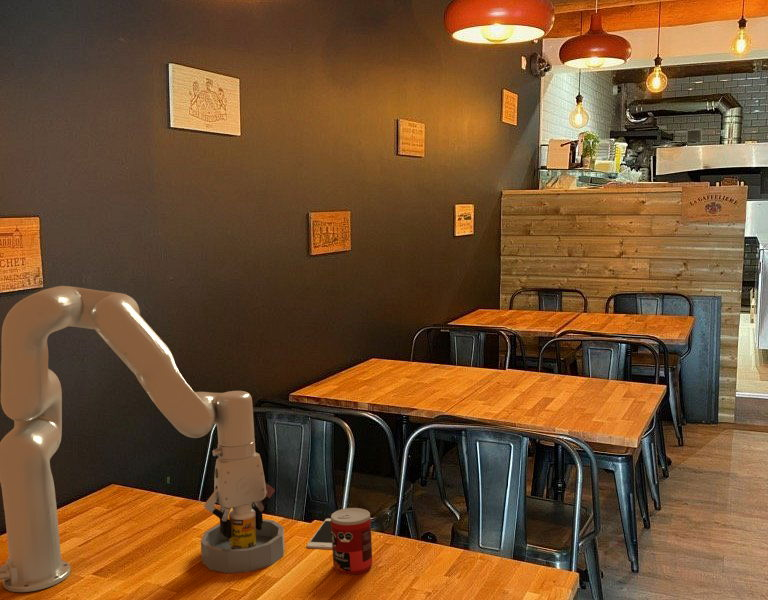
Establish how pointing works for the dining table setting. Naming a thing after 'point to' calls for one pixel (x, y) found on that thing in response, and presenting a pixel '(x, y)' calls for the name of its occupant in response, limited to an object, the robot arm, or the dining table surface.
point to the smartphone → (322, 537)
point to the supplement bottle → (242, 527)
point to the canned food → (351, 541)
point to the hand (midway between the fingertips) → (242, 531)
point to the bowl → (246, 559)
